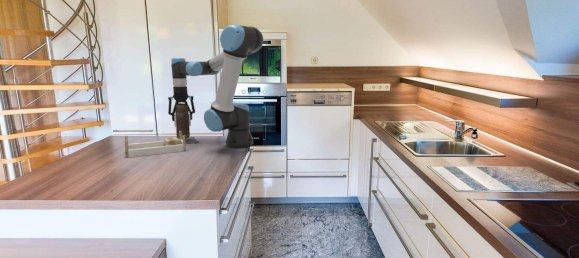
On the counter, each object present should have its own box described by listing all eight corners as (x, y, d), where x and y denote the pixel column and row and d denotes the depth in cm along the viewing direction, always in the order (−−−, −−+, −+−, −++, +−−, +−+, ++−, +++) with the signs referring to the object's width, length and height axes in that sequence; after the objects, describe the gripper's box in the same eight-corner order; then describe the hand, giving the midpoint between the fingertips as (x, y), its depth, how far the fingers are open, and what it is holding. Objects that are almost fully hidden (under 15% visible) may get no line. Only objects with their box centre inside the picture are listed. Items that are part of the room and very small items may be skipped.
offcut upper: (175, 142, 178) (175, 137, 177) (179, 145, 172) (179, 139, 172) (164, 144, 175) (163, 138, 174) (167, 146, 169) (167, 141, 168)
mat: (194, 137, 200) (193, 136, 200) (198, 142, 187) (198, 142, 187) (169, 139, 194) (169, 139, 194) (172, 145, 181) (172, 144, 181)
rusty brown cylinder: (185, 135, 195) (182, 102, 191) (193, 137, 191) (190, 103, 187) (174, 138, 189) (171, 103, 185) (182, 140, 185) (179, 104, 181)
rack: (182, 145, 182) (181, 130, 180) (186, 150, 171) (185, 135, 169) (126, 150, 170) (124, 135, 169) (126, 157, 159) (124, 141, 157)
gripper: (197, 84, 191) (199, 123, 196) (160, 86, 183) (163, 126, 188) (199, 85, 185) (201, 125, 190) (161, 87, 176) (164, 128, 181)
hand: (182, 126), depth 189 cm, fingers closed on rusty brown cylinder, 7 cm apart
